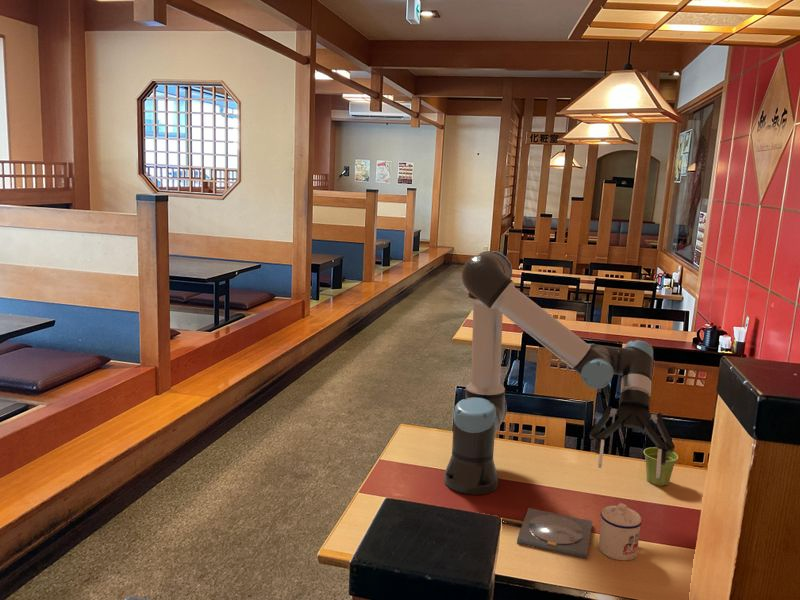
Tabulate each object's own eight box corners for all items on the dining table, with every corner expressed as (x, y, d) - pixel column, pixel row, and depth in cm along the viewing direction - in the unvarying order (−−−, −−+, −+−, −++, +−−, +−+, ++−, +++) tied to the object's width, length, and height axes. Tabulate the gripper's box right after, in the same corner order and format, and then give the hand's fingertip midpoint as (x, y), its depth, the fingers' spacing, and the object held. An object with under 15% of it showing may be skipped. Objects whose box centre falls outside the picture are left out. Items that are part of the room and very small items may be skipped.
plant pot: (672, 492, 180) (675, 463, 179) (637, 483, 185) (640, 455, 184) (677, 480, 188) (680, 452, 187) (644, 471, 193) (647, 444, 192)
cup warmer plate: (488, 536, 154) (488, 530, 154) (502, 506, 169) (502, 501, 168) (586, 559, 146) (587, 552, 146) (591, 525, 161) (592, 519, 161)
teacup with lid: (629, 566, 144) (634, 519, 142) (590, 550, 150) (595, 504, 148) (648, 545, 153) (653, 500, 151) (611, 531, 159) (616, 487, 156)
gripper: (684, 408, 168) (681, 486, 157) (586, 394, 176) (576, 467, 165) (688, 395, 162) (685, 474, 151) (586, 381, 170) (576, 455, 159)
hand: (628, 471), depth 158 cm, fingers open, 13 cm apart
